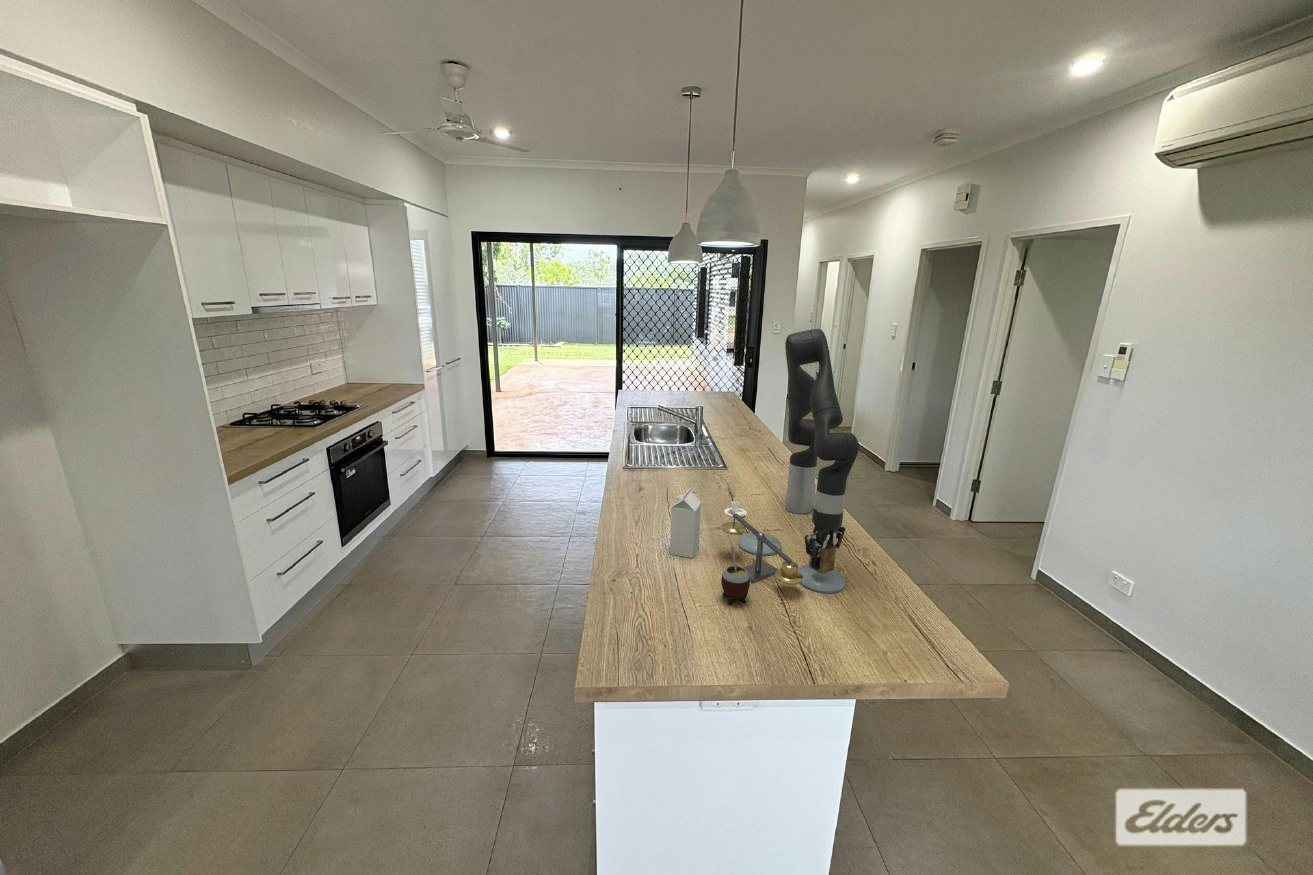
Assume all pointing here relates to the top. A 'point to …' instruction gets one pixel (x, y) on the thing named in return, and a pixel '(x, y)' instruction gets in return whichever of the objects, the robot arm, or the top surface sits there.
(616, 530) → the top surface
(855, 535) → the top surface
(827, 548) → the walnut block
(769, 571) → the balance
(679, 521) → the milk carton
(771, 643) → the top surface
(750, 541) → the pale blue flat disc
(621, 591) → the top surface
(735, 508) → the teacup and saucer
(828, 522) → the robot arm
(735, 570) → the mate gourd
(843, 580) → the dish
